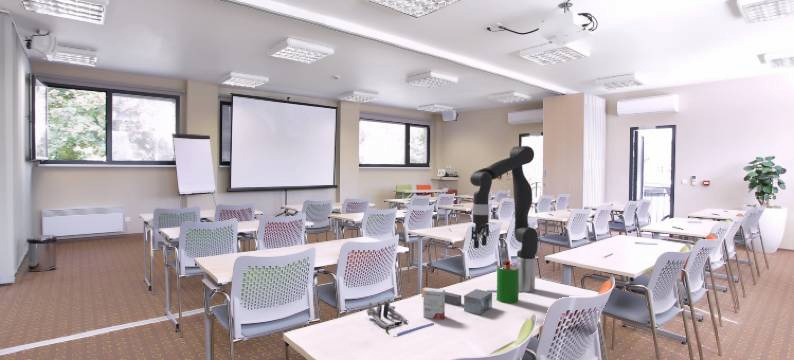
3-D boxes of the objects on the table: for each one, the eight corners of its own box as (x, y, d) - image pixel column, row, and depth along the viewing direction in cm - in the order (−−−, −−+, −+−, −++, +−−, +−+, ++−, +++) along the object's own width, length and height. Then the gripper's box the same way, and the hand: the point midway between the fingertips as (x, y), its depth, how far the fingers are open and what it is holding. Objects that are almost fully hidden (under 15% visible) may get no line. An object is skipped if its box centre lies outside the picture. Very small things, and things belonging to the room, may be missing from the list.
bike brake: (362, 316, 173) (387, 340, 157) (364, 301, 172) (389, 323, 156) (389, 310, 181) (416, 332, 165) (391, 295, 180) (418, 317, 164)
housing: (475, 303, 192) (476, 289, 192) (491, 307, 187) (492, 292, 187) (463, 310, 182) (464, 295, 182) (480, 315, 178) (480, 299, 177)
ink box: (445, 316, 176) (445, 289, 176) (442, 320, 172) (443, 292, 171) (426, 313, 179) (426, 287, 179) (423, 317, 174) (423, 290, 174)
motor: (516, 297, 201) (517, 257, 200) (520, 303, 192) (521, 261, 191) (495, 296, 202) (496, 257, 201) (498, 303, 193) (499, 261, 192)
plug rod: (425, 295, 204) (425, 287, 204) (461, 303, 192) (461, 295, 192) (421, 297, 201) (421, 289, 201) (457, 305, 189) (457, 297, 189)
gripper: (481, 215, 188) (481, 250, 188) (494, 212, 199) (493, 245, 200) (466, 214, 192) (466, 248, 193) (480, 211, 204) (479, 243, 204)
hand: (480, 246), depth 196 cm, fingers open, 8 cm apart
